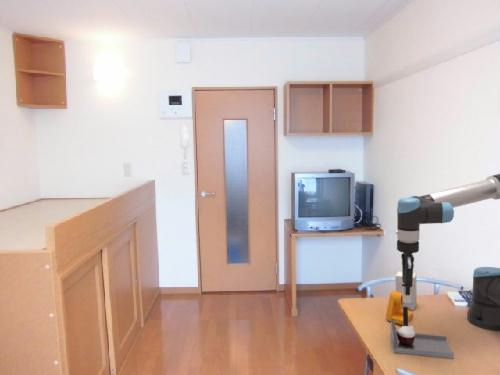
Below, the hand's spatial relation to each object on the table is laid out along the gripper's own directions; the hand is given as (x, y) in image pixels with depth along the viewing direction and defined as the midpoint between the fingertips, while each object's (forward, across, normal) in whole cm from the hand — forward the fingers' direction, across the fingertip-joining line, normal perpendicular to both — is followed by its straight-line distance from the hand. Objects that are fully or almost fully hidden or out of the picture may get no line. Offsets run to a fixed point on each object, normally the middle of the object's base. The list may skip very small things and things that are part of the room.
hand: (406, 301), depth 146 cm
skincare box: (+18, -35, +4) cm, 39 cm away
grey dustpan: (+17, 0, +5) cm, 18 cm away
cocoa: (+17, 0, 0) cm, 17 cm away
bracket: (+18, -21, 0) cm, 27 cm away
